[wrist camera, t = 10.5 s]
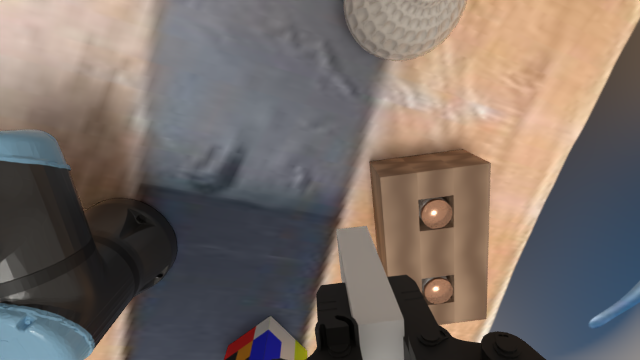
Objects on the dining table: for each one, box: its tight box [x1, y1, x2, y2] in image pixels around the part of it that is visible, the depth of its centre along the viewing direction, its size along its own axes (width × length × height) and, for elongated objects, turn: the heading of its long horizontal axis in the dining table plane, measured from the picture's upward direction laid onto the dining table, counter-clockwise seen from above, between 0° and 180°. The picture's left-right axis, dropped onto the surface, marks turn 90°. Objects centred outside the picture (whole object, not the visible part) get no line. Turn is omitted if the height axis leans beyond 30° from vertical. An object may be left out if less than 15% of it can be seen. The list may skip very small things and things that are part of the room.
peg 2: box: [422, 276, 453, 304], centre depth 51 cm, size 4×4×8 cm
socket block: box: [370, 149, 491, 325], centre depth 50 cm, size 14×24×8 cm, turn 7°
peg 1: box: [418, 197, 452, 229], centre depth 47 cm, size 4×4×8 cm
